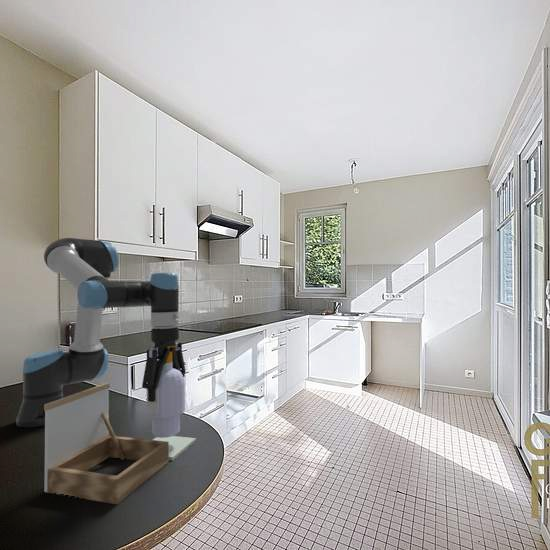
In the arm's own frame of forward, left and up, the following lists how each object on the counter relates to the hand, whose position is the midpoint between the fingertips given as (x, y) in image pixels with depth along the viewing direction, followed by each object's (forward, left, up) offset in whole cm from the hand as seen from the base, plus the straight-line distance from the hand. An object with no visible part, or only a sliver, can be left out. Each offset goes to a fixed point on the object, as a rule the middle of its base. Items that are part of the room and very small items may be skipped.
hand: (165, 406), depth 97 cm
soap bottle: (0, 0, -7) cm, 7 cm away
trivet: (0, 0, -11) cm, 11 cm away
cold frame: (-4, -16, -11) cm, 20 cm away
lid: (-14, -16, -11) cm, 24 cm away
